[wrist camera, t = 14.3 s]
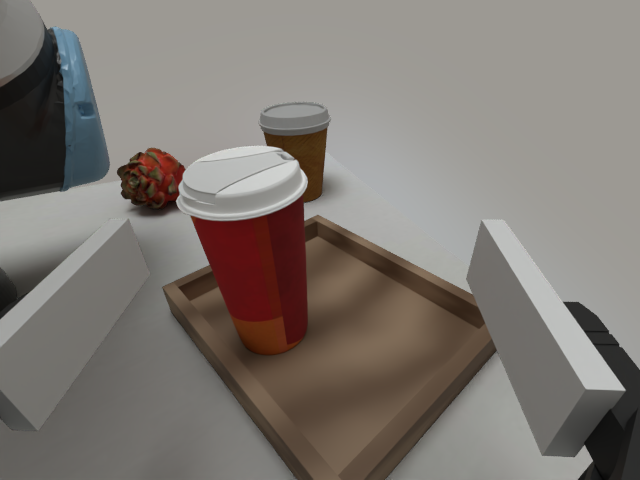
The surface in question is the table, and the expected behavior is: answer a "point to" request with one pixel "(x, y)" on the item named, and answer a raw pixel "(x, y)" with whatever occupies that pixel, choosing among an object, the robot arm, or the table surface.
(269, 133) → the disposable coffee cup
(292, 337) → the paper cup
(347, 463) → the walnut tray
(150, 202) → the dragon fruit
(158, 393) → the table surface
